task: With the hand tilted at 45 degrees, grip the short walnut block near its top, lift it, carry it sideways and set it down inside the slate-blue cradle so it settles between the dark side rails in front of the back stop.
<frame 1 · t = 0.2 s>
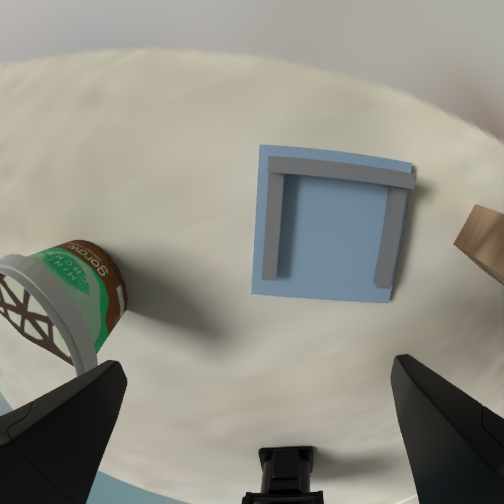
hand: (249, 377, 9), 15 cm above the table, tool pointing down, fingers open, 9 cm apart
cradle: (331, 226, 21), on the table
food container: (91, 260, 25), on the table
walnut block: (480, 238, 20), on the table
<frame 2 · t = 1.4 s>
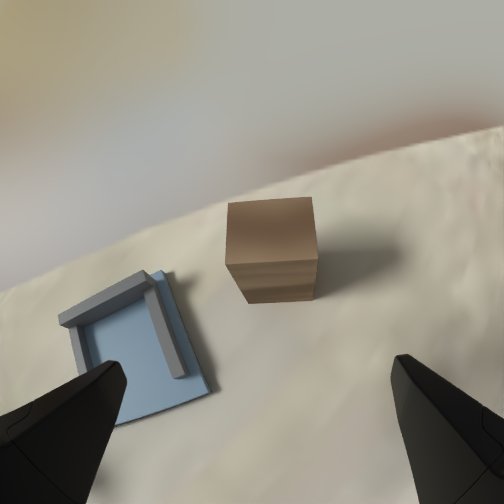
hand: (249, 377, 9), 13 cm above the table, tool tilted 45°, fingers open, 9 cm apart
cradle: (130, 353, 23), on the table
walnut block: (279, 278, 24), on the table
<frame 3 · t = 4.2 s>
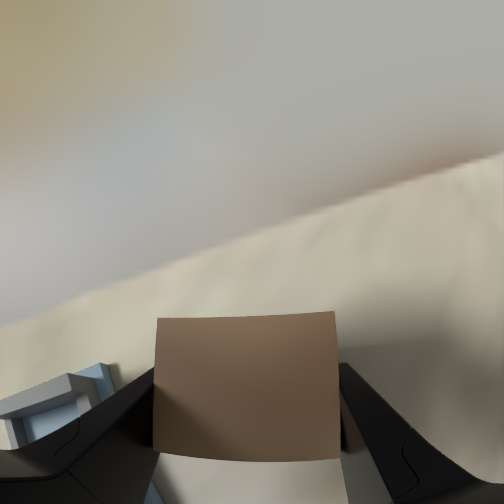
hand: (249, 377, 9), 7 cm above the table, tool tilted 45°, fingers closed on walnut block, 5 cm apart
cradle: (75, 461, 13), on the table
walnut block: (270, 389, 14), on the table, touching gripper
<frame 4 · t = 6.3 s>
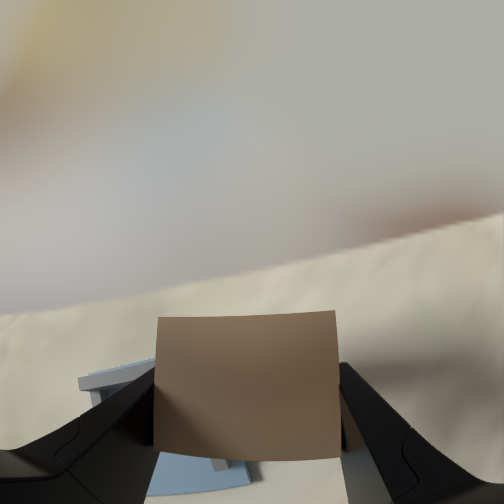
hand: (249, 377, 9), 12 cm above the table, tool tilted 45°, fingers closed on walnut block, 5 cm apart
cradle: (162, 428, 19), on the table
walnut block: (270, 389, 14), point 6 cm above the table, touching gripper
when the fingers open (8 cm above the table, at t = 8.7 s): walnut block stays where it is, resting on cradle.
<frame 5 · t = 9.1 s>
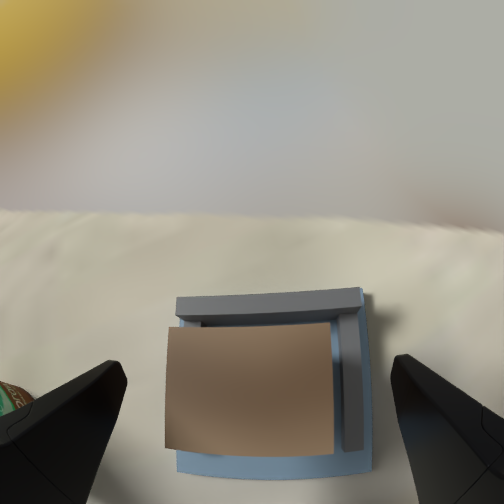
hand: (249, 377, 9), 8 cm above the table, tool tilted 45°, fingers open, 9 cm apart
cradle: (272, 388, 16), on the table
food container: (25, 411, 17), on the table
walnut block: (270, 390, 15), point 1 cm above the table, touching cradle
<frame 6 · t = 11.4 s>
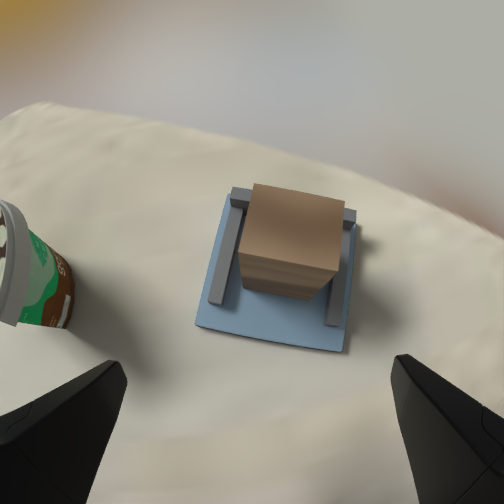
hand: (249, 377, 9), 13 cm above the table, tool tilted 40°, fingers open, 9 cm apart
cradle: (281, 271, 23), on the table
food container: (53, 273, 24), on the table
walnut block: (280, 269, 23), point 1 cm above the table, touching cradle
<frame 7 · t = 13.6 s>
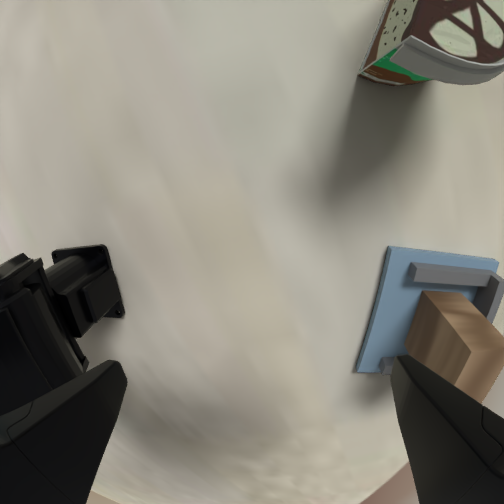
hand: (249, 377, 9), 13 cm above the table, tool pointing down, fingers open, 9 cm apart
cradle: (430, 315, 21), on the table
food container: (414, 48, 15), on the table
walnut block: (433, 319, 20), point 1 cm above the table, touching cradle
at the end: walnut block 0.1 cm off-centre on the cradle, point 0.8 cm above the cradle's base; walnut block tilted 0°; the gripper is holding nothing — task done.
